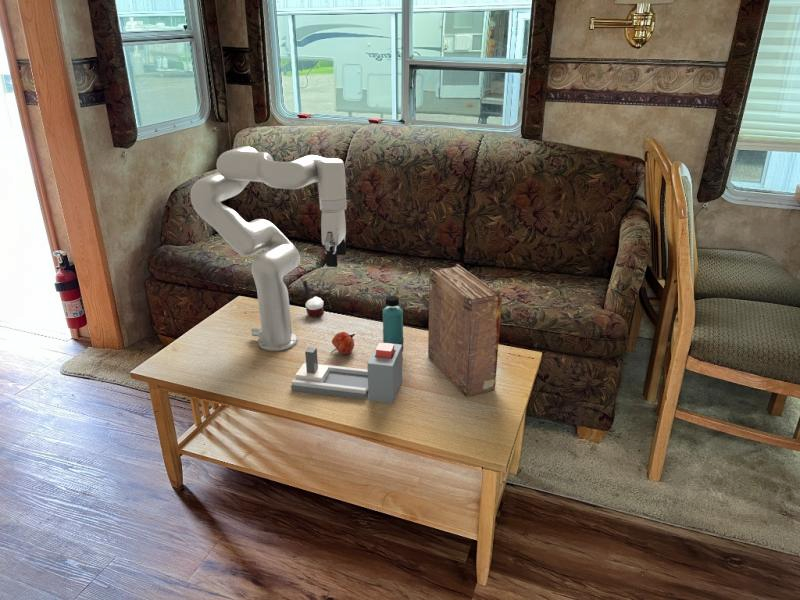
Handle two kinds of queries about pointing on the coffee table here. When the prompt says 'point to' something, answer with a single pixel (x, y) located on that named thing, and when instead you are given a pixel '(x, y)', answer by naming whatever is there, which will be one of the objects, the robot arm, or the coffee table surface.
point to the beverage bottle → (393, 322)
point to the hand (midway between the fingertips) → (336, 260)
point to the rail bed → (337, 383)
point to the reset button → (385, 350)
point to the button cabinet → (385, 376)
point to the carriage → (312, 368)
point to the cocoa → (313, 303)
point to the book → (464, 328)
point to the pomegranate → (343, 342)
